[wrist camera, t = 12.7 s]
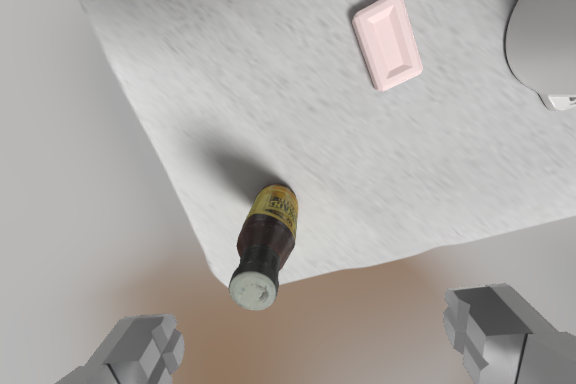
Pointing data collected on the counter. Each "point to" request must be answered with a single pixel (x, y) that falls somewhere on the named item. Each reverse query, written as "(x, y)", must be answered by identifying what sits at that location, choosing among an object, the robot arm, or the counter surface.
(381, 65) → the soap bar
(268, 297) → the sauce bottle
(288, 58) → the counter surface
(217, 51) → the counter surface
